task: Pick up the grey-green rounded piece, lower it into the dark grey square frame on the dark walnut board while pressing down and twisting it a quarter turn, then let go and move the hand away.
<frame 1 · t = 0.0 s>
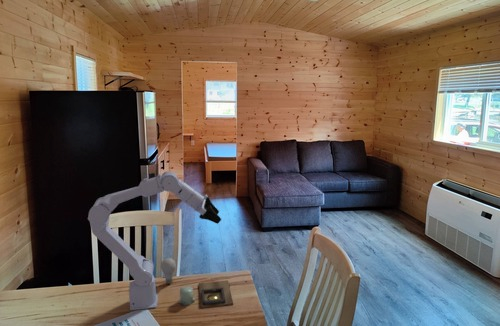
hand: (218, 217, 134), 32 cm above the table, tool tilted 50°, fingers open, 7 cm apart
lightbulb: (169, 283, 149), on the table
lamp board: (215, 294, 142), on the table
dark grey square frame: (213, 298, 139), resting on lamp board
grey-green rounded piece: (186, 301, 137), on the table
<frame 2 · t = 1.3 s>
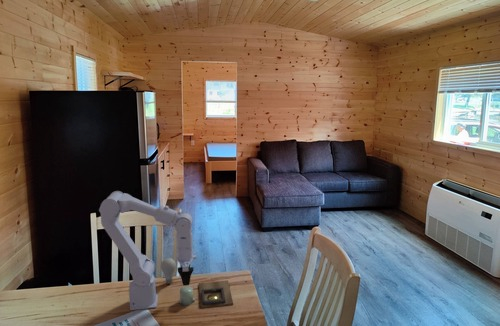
hand: (186, 279, 135), 9 cm above the table, tool pointing down, fingers open, 7 cm apart
nothing on the table moved.
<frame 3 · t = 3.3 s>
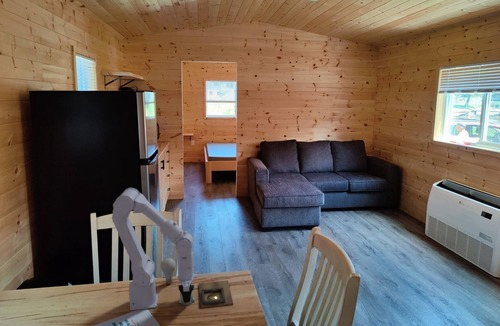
hand: (186, 297, 136), 2 cm above the table, tool pointing down, fingers closed on grey-green rounded piece, 5 cm apart
grey-green rounded piece: (186, 301, 137), on the table, touching gripper
everything else where it was.
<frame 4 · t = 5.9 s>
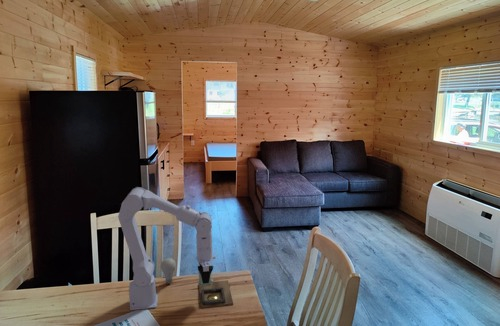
hand: (205, 279, 136), 9 cm above the table, tool pointing down, fingers closed on grey-green rounded piece, 5 cm apart
grey-green rounded piece: (205, 282, 136), point 7 cm above the table, touching gripper
everything else where it was.
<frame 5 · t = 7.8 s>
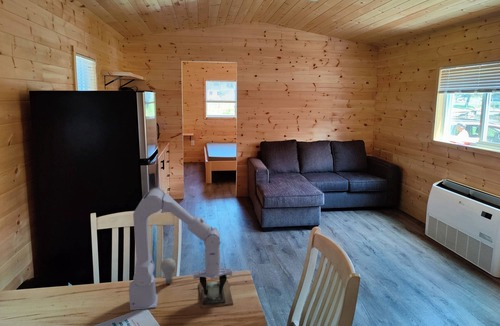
hand: (213, 293, 138), 2 cm above the table, tool pointing down, fingers closed on grey-green rounded piece, 5 cm apart
grey-green rounded piece: (213, 297, 138), point 1 cm above the table, touching dark grey square frame, gripper
everything else where it was.
when the fingers open (2 cm above the table, at t = 9.0 s): grey-green rounded piece stays where it is, resting on dark grey square frame.
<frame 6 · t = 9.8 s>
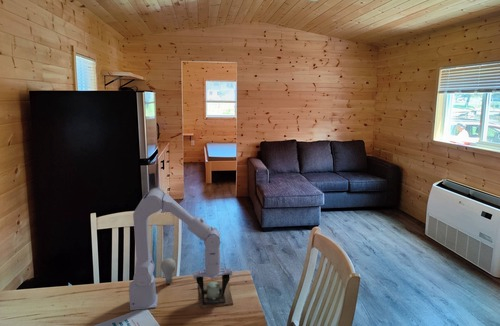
hand: (213, 293, 138), 2 cm above the table, tool pointing down, fingers open, 7 cm apart
grey-green rounded piece: (213, 297, 138), point 1 cm above the table, touching dark grey square frame
everything else where it was.
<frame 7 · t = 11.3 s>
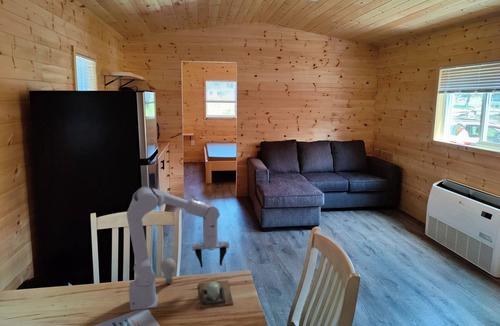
hand: (211, 265, 145), 9 cm above the table, tool pointing down, fingers open, 7 cm apart
nothing on the table moved.
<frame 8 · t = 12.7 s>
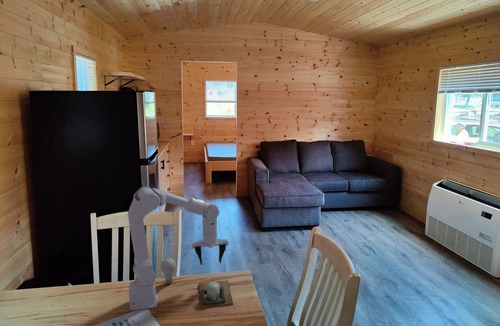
hand: (210, 262, 147), 9 cm above the table, tool pointing down, fingers open, 7 cm apart
nothing on the table moved.
at the end: grey-green rounded piece 0.0 cm off-centre on the dark grey square frame, point 0.8 cm above the dark grey square frame's base; grey-green rounded piece tilted 0°; the gripper is holding nothing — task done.
